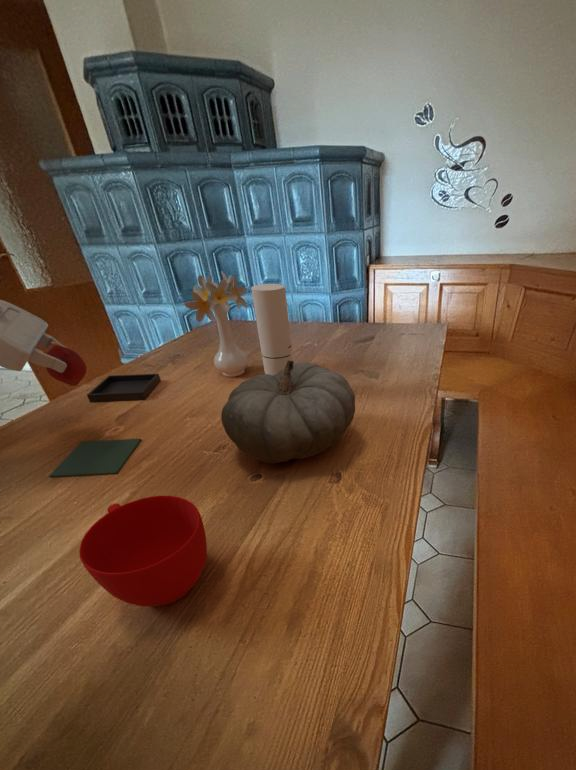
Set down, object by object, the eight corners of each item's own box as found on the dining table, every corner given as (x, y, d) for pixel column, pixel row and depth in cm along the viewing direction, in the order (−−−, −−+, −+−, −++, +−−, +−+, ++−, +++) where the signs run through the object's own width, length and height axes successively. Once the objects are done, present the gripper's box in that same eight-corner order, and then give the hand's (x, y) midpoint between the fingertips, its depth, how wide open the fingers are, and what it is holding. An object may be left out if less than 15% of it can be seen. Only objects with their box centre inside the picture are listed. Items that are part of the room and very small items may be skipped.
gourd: (387, 435, 76) (371, 350, 65) (283, 506, 65) (243, 419, 55) (316, 404, 92) (293, 333, 82) (224, 457, 82) (185, 383, 71)
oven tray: (90, 402, 95) (86, 394, 94) (111, 382, 105) (108, 375, 103) (144, 400, 96) (142, 392, 94) (161, 380, 105) (158, 373, 104)
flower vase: (201, 387, 101) (172, 283, 86) (220, 362, 116) (198, 269, 101) (250, 386, 101) (230, 282, 86) (263, 361, 116) (248, 268, 101)
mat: (49, 477, 70) (48, 475, 70) (82, 443, 80) (81, 441, 79) (117, 474, 71) (116, 472, 70) (141, 440, 80) (140, 438, 80)
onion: (89, 377, 74) (70, 334, 69) (96, 386, 70) (76, 342, 66) (54, 385, 71) (32, 341, 66) (59, 395, 67) (35, 349, 63)
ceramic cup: (174, 523, 60) (152, 471, 54) (238, 579, 51) (221, 525, 45) (85, 573, 52) (48, 520, 46) (143, 650, 44) (107, 596, 37)
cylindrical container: (301, 391, 99) (290, 284, 84) (290, 403, 93) (276, 291, 78) (276, 388, 100) (260, 283, 85) (263, 400, 95) (244, 289, 80)
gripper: (-26, 311, 67) (66, 358, 76) (-69, 345, 52) (51, 397, 62) (-9, 281, 66) (81, 331, 75) (-49, 306, 51) (70, 365, 60)
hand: (67, 361), depth 68 cm, fingers closed on onion, 6 cm apart
